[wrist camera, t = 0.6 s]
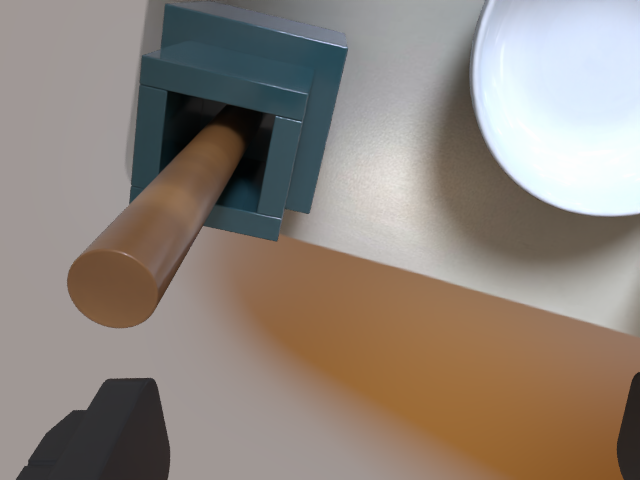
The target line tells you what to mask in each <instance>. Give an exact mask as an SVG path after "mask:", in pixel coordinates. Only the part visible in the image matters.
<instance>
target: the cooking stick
mask: <svg viewBox="0 0 640 480" xmlns="http://www.w3.org/2000/svg"><path fill="white" fill-rule="evenodd" d="M260 124H261V112H259V111H255V110H250V109H246V108H242V107H237V106H233V105H229V104H227V105H226V106H225V107H224V108H223V109H222V110H221V111H220V112H219V113H218V114H217V115H216V116H215V117H214V118H213V119H212V120H211V121H210V122H209V123H208V124H207V125H206V126H205V127H204V128H203V129H202V130H201V131H200V132H199V133H198V134H197V136H196V137H195V138H194V139H193V140H192V141H191V142H190V143H189V144H188V145H187V146H186V147H185V148H184V149H183V150H182V151H181V152H180V153H179V154H178V155H177V156H176V157H175V158H174V159H173V160H172V161H171V162H170V163H169V164H168V165H167V166H166V167H165V168H164V169H163V171H162V172H161V173H160V174H159V175H158V176H157V177H156V178H155V179H154V180H153V181H152V182H151V183H150V184H149V185H148V186H147V187H146V188H145V189H144V190H143V191H142V192H141V193H140V194H139V195H138V196H137V197H136V198H135V199H134V200H133V201H132V202H131V203H130V204H129V206H128V207H127V208H126V209H125V210H124V211H123V212H122V213H121V214H120V215H119V216H118V217H117V218H116V219H115V220H114V221H113V222H112V223H111V224H110V225H109V226H108V227H107V228H106V229H105V230H104V231H103V232H102V233H101V234H100V235H99V236H98V237H97V239H95V241H94V242H93V243H92V244H91V245H90V246H89V247H88V248H87V249H86V250H85V251H84V252H83V253H82V254H81V255H80V256H79V257H78V258H77V259H76V260H75V261H74V262H73V264H72V265H71V268H70V270H69V273H68V278H67V286H68V292H69V294H70V297H71V299H72V301H73V303H74V304H75V306H76V307H77V308H78V310H79V311H80V312H82V313H83V314H84V315H85V316H86V317H88V318H89V319H91V320H92V321H94V322H96V323H98V324H101V325H103V326H107V327H112V328H128V327H133V326H136V325H138V324H140V323H142V322H144V321H145V320H147V319H148V318H149V317H150V316H151V315H152V313H153V312H154V310H155V309H156V307H157V305H158V303H159V302H160V300H161V298H162V296H163V295H164V293H165V291H166V289H167V288H168V286H169V284H170V282H171V281H172V279H173V277H174V275H175V274H176V272H177V270H178V268H179V267H180V265H181V263H182V261H183V260H184V258H185V256H186V254H187V252H188V251H189V249H190V247H191V246H192V244H193V242H194V240H195V239H196V237H197V235H198V233H199V231H200V230H201V228H202V226H203V225H204V223H205V221H206V219H207V218H208V216H209V214H210V212H211V211H212V209H213V207H214V205H215V204H216V202H217V200H218V198H219V197H220V195H221V193H222V191H223V190H224V188H225V186H226V184H227V183H228V181H229V179H230V177H231V176H232V174H233V172H234V170H235V169H236V167H237V165H238V163H239V162H240V160H241V158H242V156H243V155H244V153H245V151H246V149H247V148H248V146H249V144H250V142H251V141H252V139H253V137H254V135H255V134H256V132H257V130H258V128H259V127H260Z"/></svg>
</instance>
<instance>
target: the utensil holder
mask: <svg viewBox="0 0 640 480" xmlns="http://www.w3.org/2000/svg"><path fill="white" fill-rule="evenodd" d="M347 51H348V46H347V41H346V36H345V33H343V32H338V31H334V30H330V29H326V28H322V27H318V26H314V25H310V24H305V23H301V22H297V21H293V20H289V19H285V18H281V17H277V16H272V15H268V14H264V13H260V12H256V11H252V10H248V9H244V8H239V7H235V6H231V5H227V4H223V3H219V2H215V1H211V0H207V1H194V2H180V3H167V4H165V10H164V20H163V30H162V40H161V49H160V50H157V51H154V52H151V53H148V54H145V55H142V60H141V72H140V86H139V96H138V108H137V120H136V132H135V143H134V155H133V167H132V179H131V185H132V186H131V190H130V202H129V204H130V203H131V202H132V201H133V200H134V199H135V198H136V197H137V196H138V195H139V194H140V193H141V192H142V191H143V190H144V189H145V188H146V187H147V186H148V185H149V184H150V183H151V182H152V181H153V180H154V179H155V178H156V177H157V176H158V175H159V174H160V173H161V172H162V171H163V169H164V168H165V167H166V166H167V165H168V164H169V163H170V162H171V161H172V160H173V159H174V158H175V157H176V156H177V155H178V154H179V153H180V152H181V151H182V150H183V149H184V148H185V147H186V146H187V145H188V144H189V143H190V142H191V141H192V140H193V139H194V138H195V137H196V136H197V134H198V133H199V132H200V131H201V130H202V129H203V128H204V127H205V126H206V125H207V124H208V123H209V122H210V121H211V120H212V119H213V118H214V117H215V116H216V115H217V114H218V113H219V112H220V111H221V110H222V109H223V108H224V107H225V106H226V105H227V104H229V105H233V106H237V107H242V108H246V109H250V110H255V111H259V112H261V124H260V127H259V128H258V130H257V132H256V134H255V135H254V137H253V139H252V141H251V142H250V144H249V146H248V148H247V149H246V151H245V153H244V155H243V156H242V158H241V160H240V162H239V163H238V165H237V167H236V169H235V170H234V172H233V174H232V176H231V177H230V179H229V181H228V183H227V184H226V186H225V188H224V190H223V191H222V193H221V195H220V197H219V198H218V200H217V202H216V204H215V205H214V207H213V209H212V211H211V212H210V214H209V216H208V218H207V219H206V221H205V223H204V225H203V226H207V227H211V228H216V229H221V230H225V231H230V232H235V233H240V234H244V235H249V236H253V237H258V238H263V239H267V240H273V241H277V240H278V236H279V232H280V228H281V224H282V220H283V215H284V211H285V209H288V210H293V211H297V212H302V213H306V214H309V213H310V210H311V205H312V201H313V197H314V192H315V188H316V184H317V180H318V175H319V171H320V167H321V162H322V158H323V154H324V150H325V145H326V141H327V137H328V133H329V128H330V124H331V120H332V115H333V111H334V107H335V103H336V98H337V94H338V90H339V85H340V81H341V77H342V73H343V68H344V64H345V60H346V55H347Z"/></svg>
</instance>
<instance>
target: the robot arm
mask: <svg viewBox="0 0 640 480" xmlns="http://www.w3.org/2000/svg"><path fill="white" fill-rule="evenodd" d="M617 458H618V463H619V467H620V471H621V474H622V476H623V479H624V480H640V372H638V373H637V374H636V375H635V376H634V378H633V380H632V383H631V386H630V391H629V395H628V399H627V403H626V407H625V412H624V416H623V420H622V424H621V428H620V433H619V437H618V442H617ZM169 467H170V446H169V440H168V436H167V431H166V426H165V421H164V416H163V411H162V406H161V401H160V396H159V391H158V387H157V384H156V382H155V380H154V379H152V378H130V379H129V378H125V379H107V380H106V381H105V382H104V383H103V384H102V386H101V387H100V389H99V391H98V392H97V394H96V396H95V397H94V399H93V401H92V402H91V404H90V406H89V407H88V409H87V410H73V411H72V412H71V413H70V414H69V415H67V416H66V417H65V418H64V419H63V420H61V421H60V422H59V423H58V424H57V425H56V426H54V427H53V428H52V429H51V430H50V431H49V432H47V433H46V434H45V436H44V437H43V439H42V440H41V442H40V444H39V445H38V447H37V448H36V450H35V451H34V453H33V454H32V456H31V457H30V459H29V460H28V466H25V467H24V468H23V470H22V471H21V472H20V474H19V476H18V477H17V479H16V480H167V479H168V474H169Z"/></svg>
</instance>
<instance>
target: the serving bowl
mask: <svg viewBox="0 0 640 480" xmlns="http://www.w3.org/2000/svg"><path fill="white" fill-rule="evenodd" d="M469 75H470V93H471V99H472V105H473V109H474V113H475V117H476V120H477V124H478V127H479V129H480V132H481V134H482V137H483V139H484V141H485V143H486V145H487V147H488V149H489V151H490V153H491V154H492V156H493V157H494V159H495V160H496V162H497V163H498V165H499V166H500V167H501V168H502V169H503V171H504V172H505V173H506V174H507V175H508V176H509V177H510V178H511V179H512V180H513V181H514V182H515V183H516V184H517V185H518V186H520V187H521V188H522V189H523V190H525V191H526V192H528V193H529V194H531V195H532V196H534V197H535V198H537V199H539V200H541V201H543V202H545V203H547V204H549V205H551V206H554V207H556V208H559V209H562V210H565V211H569V212H572V213H577V214H582V215H589V216H599V217H619V216H630V215H637V214H640V0H485V2H484V5H483V7H482V10H481V13H480V16H479V19H478V21H477V25H476V29H475V33H474V37H473V42H472V48H471V54H470V67H469Z"/></svg>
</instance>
